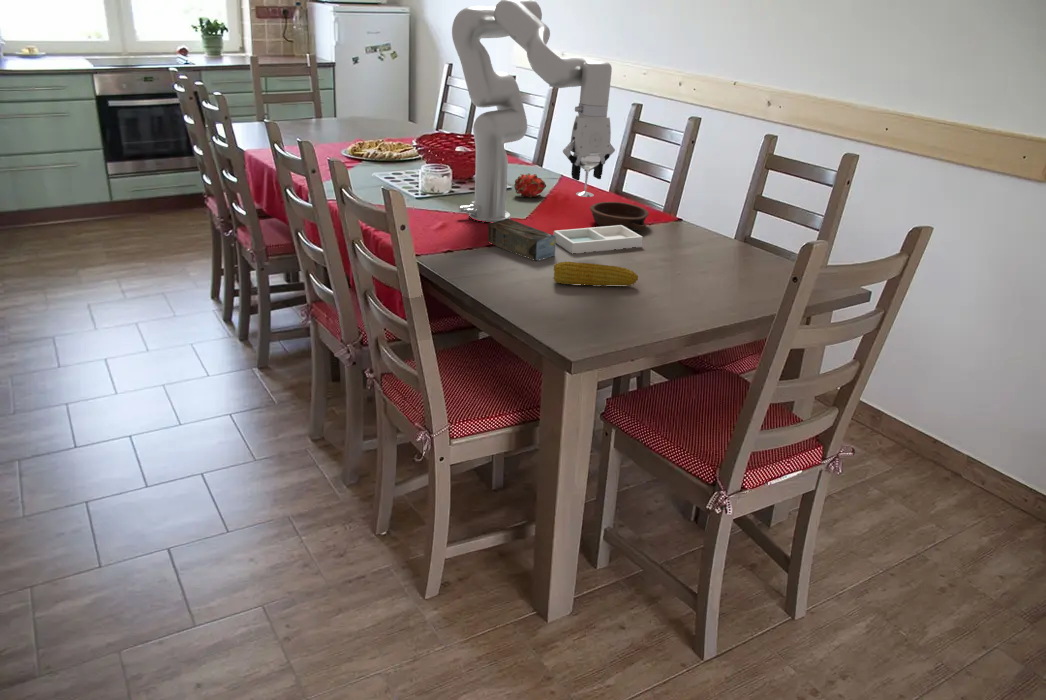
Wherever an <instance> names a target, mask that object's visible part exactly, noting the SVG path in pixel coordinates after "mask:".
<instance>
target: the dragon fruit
mask: <svg viewBox="0 0 1046 700" xmlns="http://www.w3.org/2000/svg"><path fill="white" fill-rule="evenodd" d="M513 186H514V190H515V193H516V194H517V195H518V194H521V197H522V196H523V197H522V198H525V197H527V198H529V199H530V198H531V199H532V197H535V198H539V197H540V196H541V193H543V191H544V190H545V189H546V187H547V184H546V182H545V181H544V180H543V179H542V178H541V177H538V176H537V174H536V173H535V174H532V175H531V173H527V174H524V173H521V174H520V175H519V176H518V177H517V178H516V179H515V180H514V184H513Z"/></svg>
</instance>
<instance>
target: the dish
mask: <svg viewBox="0 0 1046 700" xmlns="http://www.w3.org/2000/svg"><path fill="white" fill-rule="evenodd" d="M589 208H590V209H589V210H590V211H591V214H592V217H593V220H594V222H595V224H596V225H598V226H599V227H604V226H616V225H623V226H624V227H626V228H628V229H630V230H632V231H633V230H634V231H641V232H642V231H644V230H645V228H646V223H645V221H646V218H647V217H648V216H649V213H650V212H649V211H648V210H647V209H646V208H644V207H642V206H639V205H635V204H633V203H626V202H621V201H620V202H619V201H601V202H597V203H594V204H592V205H591V206H589Z"/></svg>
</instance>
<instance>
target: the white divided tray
mask: <svg viewBox="0 0 1046 700" xmlns="http://www.w3.org/2000/svg"><path fill="white" fill-rule="evenodd" d="M552 235H554V236H556V244H557V245H558V246H560V247H561V248H562V249H564V250H566V251H567V252H569V253H570V254H571V253H572V255H574V254H573V253H576V254H583V253H584V252H586V253H594V252H593V251H596V252H605V251H615V250H614V249H616V250H622V249H623V248H626V249H633V248H632V247H636V248H642V245H643V236H642V235H640V234H638V233H637V232H635V231H633V229H632V230H630V229H628V228H626V227H624V226H623V225H616V226H604V227H602V226H596V227H595V226H593V227H584V228H583V227H581V228H570V229H560V230H558V229H557V230H553V233H552ZM623 250H624V249H623Z"/></svg>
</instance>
